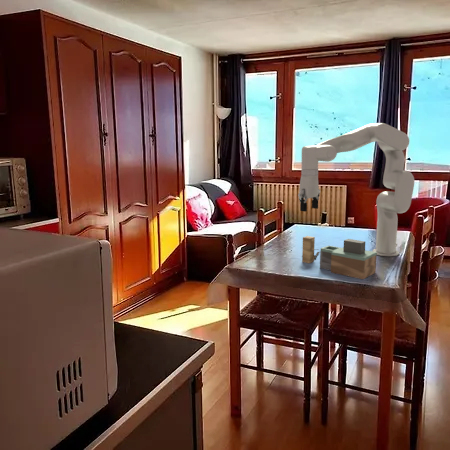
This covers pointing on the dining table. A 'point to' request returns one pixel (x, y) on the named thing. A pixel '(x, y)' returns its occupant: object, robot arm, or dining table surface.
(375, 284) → the dining table surface
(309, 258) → the tan wooden block
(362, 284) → the dining table surface
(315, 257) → the hacksaw
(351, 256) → the lid
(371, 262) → the toolbox
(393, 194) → the robot arm
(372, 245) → the dining table surface
